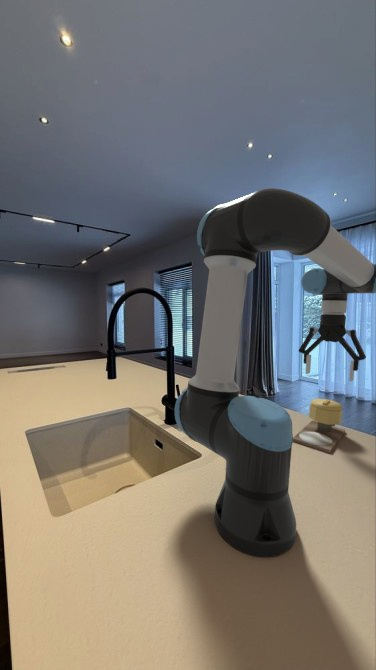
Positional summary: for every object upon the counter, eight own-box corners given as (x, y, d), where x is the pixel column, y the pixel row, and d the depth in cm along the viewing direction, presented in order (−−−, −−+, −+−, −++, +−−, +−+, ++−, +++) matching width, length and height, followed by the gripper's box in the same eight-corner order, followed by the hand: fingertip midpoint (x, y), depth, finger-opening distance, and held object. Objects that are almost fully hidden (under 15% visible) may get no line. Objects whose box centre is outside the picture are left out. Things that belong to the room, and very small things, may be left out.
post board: (330, 453, 82) (332, 423, 81) (292, 441, 89) (294, 413, 88) (345, 432, 97) (347, 406, 97) (311, 423, 104) (313, 399, 104)
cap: (336, 427, 90) (338, 408, 89) (306, 418, 96) (307, 401, 96) (343, 418, 97) (344, 401, 97) (314, 411, 103) (316, 395, 103)
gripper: (379, 315, 88) (373, 381, 90) (299, 312, 104) (295, 369, 106) (376, 315, 83) (370, 385, 85) (291, 312, 99) (288, 372, 101)
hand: (328, 376), depth 95 cm, fingers open, 13 cm apart
